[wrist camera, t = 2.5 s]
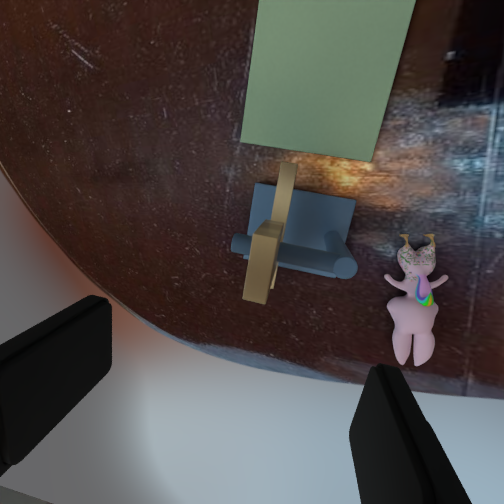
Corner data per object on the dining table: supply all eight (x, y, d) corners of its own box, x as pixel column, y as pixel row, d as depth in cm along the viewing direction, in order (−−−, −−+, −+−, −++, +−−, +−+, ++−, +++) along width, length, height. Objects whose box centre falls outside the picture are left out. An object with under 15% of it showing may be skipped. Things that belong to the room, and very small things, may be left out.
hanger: (282, 162, 27) (266, 152, 15) (298, 164, 26) (294, 157, 15) (260, 280, 30) (234, 345, 19) (274, 283, 30) (256, 351, 19)
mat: (273, -97, 24) (272, -102, 23) (440, -91, 22) (442, -96, 22) (241, 142, 30) (240, 141, 29) (369, 162, 28) (370, 162, 28)
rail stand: (257, 182, 31) (232, 186, 20) (354, 199, 29) (383, 213, 19) (245, 255, 33) (218, 293, 23) (334, 274, 32) (349, 324, 21)
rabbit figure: (380, 233, 31) (375, 355, 33) (397, 235, 25) (391, 385, 27) (440, 232, 30) (432, 359, 31) (473, 234, 24) (461, 391, 26)
